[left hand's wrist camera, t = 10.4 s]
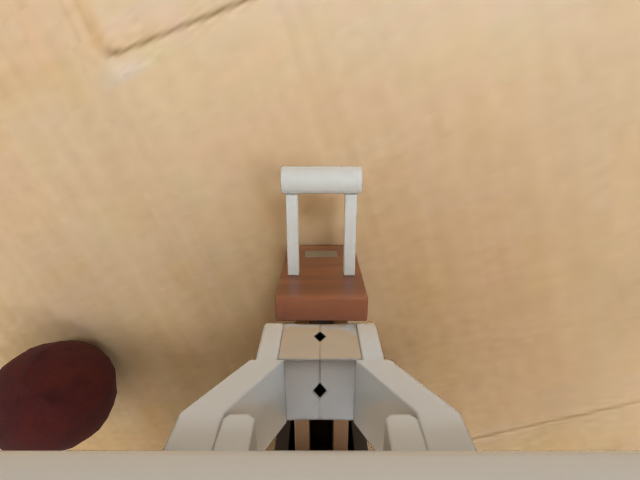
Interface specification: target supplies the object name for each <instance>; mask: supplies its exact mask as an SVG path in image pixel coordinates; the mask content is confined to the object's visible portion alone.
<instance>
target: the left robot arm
mask: <svg viewBox="0 0 640 480" xmlns="http://www.w3.org/2000/svg"><path fill="white" fill-rule="evenodd" d="M286 420H354V423H355V425H356V426H357V427H358V428H359V430H360V431H361V432H362V434H363V435H364V436H365V438H366V439H367V440H368V442H369V443H370V444H371V446H372V447H373V448H374V450H375V451H265V450H266V449H267V447H268V446H269V445H270V443H271V442H272V441H273V439H274V438H275V437H276V435H277V434H278V433H279V431H280V430H281V429H282V428H283V426H284V425H285V424H286ZM0 480H640V451H477V450H476V448H475V445H474V443H473V441H472V439H471V436H470V434H469V432H468V430H467V427H466V425H465V423H464V421H463V418H462V416H461V414H460V413H459V412H458V411H457V410H455V409H454V408H453V407H451V406H450V405H449V404H447V403H446V402H445V401H444V400H442V399H441V398H440V397H438V396H437V395H436V394H434V393H433V392H432V391H430V390H429V389H428V388H426V387H425V386H424V385H422V384H421V383H420V382H418V381H417V380H416V379H415V378H413V377H412V376H411V375H409V374H408V373H407V372H405V371H404V370H403V369H401V368H400V367H399V366H397V365H396V364H395V363H393V362H392V361H391V360H384V356H383V352H382V348H381V344H380V340H379V336H378V332H377V328H376V325H375V324H374V323H357V324H322V325H320V324H297V323H284V324H283V323H266V324H265V325H264V328H263V332H262V336H261V340H260V344H259V348H258V352H257V356H256V360H249V361H248V362H247V363H245V364H244V365H243V366H241V367H240V368H239V369H237V370H236V371H235V372H233V373H232V374H231V375H229V376H228V377H227V378H225V379H224V380H223V381H221V382H220V383H219V384H217V385H216V386H215V387H213V388H212V389H211V390H209V391H208V392H207V393H206V394H204V395H203V396H202V397H200V398H199V399H198V400H196V401H195V402H194V403H192V404H191V405H190V406H188V407H187V408H186V409H184V410H183V411H182V412H180V414H179V417H178V419H177V421H176V423H175V425H174V428H173V430H172V432H171V434H170V436H169V439H168V441H167V443H166V445H165V448H164V450H163V451H0Z"/></svg>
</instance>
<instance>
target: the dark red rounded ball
mask: <svg viewBox="0 0 640 480" xmlns="http://www.w3.org/2000/svg"><path fill="white" fill-rule="evenodd" d="M116 394H117V388H116V376H115V368H114V367H113V365H112V363H111V361H110V359H109V357H108V356H106V355H105V354H104V353H103V352H102V351H101V350H100V349H99V348H97V347H95V346H92V345H90V344H88V343H86V342H79V341H72V340H71V341H61V342H54V343H47V344H42V345H39V346H36V347H33V348H30V349H28V350H27V351H25V352H24V353H22V354H20V355H19V356H17V357H16V358H14V359H13V360H11V361H10V362H9V363H7V364H6V365H5V366H3V367H2V368H1V370H0V449H1V450H3V451H63V450H66V449H70V448H73V447H74V446H76V445H77V444H79V443H81V442H82V441H84V440H86V439H87V438H89V437H90V436H92V435H93V434H94V433H95V432H97V431H98V430H99V429H100V428H101V426H102V425H103V423H104V422H105V421H106V419H107V418H108V416H109V414H110V411H111V409H112V407H113V405H114V401H115V398H116Z"/></svg>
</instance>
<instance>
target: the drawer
mask: <svg viewBox="0 0 640 480" xmlns="http://www.w3.org/2000/svg"><path fill="white" fill-rule="evenodd" d="M280 182H281V192H282V193H283V194H286V224H287V254H286V258H285V262H284V266H283V269H282V273H281V277H280V281H279V285H278V289H277V293H276V297H275V310H276V320H277V321H295V323H297V324H320V325H322V324H348V321H366V320H367V310H368V297H367V293H366V290H365V286H364V282H363V278H362V275H361V271H360V267H359V263H358V260H357V256H356V252H355V250H356V217H357V194H360V193H361V191H362V167H361V166H282V167H281V174H280ZM298 194H345V201H344V245H299V216H298ZM294 427H295V451H348V420H294Z"/></svg>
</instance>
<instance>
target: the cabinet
mask: <svg viewBox="0 0 640 480" xmlns="http://www.w3.org/2000/svg"><path fill="white" fill-rule="evenodd" d="M275 451H295V427H294V420H286V424H285V425H284V426H283V428H282V429H281V430H280V431H279V433H278V434H277V436H276V444H275ZM348 451H368V447H367V440H366V438H365V436H364V435H363V434H362V432H361V431H360V430H359V428H358V427H357V426H356V425H355V423H354V420H348Z"/></svg>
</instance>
